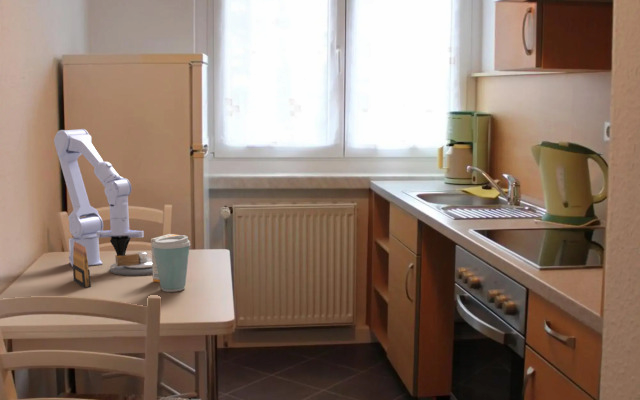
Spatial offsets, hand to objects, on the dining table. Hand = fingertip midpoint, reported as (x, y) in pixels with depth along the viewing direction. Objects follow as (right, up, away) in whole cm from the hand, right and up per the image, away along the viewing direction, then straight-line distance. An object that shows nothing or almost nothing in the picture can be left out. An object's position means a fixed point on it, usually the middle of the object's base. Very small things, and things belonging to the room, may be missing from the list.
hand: (121, 259), depth 243 cm
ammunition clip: (-7, -6, -17) cm, 20 cm away
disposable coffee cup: (+21, -7, -25) cm, 33 cm away
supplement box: (+17, -5, -13) cm, 22 cm away
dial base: (+6, -3, +1) cm, 7 cm away
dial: (+5, -2, 0) cm, 6 cm away
